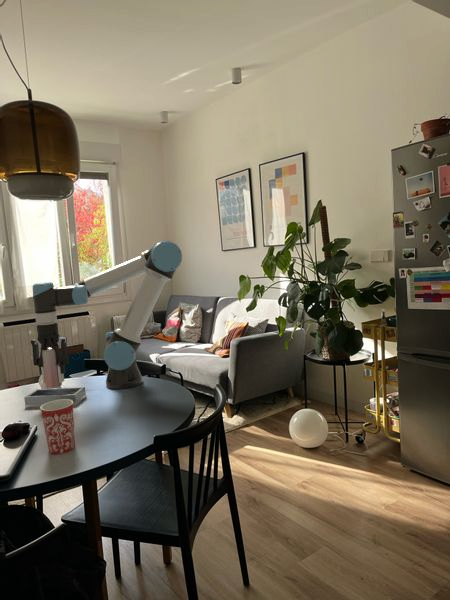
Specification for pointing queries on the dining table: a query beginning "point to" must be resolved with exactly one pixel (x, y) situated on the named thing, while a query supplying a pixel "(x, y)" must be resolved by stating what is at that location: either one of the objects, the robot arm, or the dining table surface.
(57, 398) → the grey shallow rectangular tray
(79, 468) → the dining table surface
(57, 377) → the beverage can
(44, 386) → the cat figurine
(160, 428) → the dining table surface
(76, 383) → the dining table surface
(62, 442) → the mug
